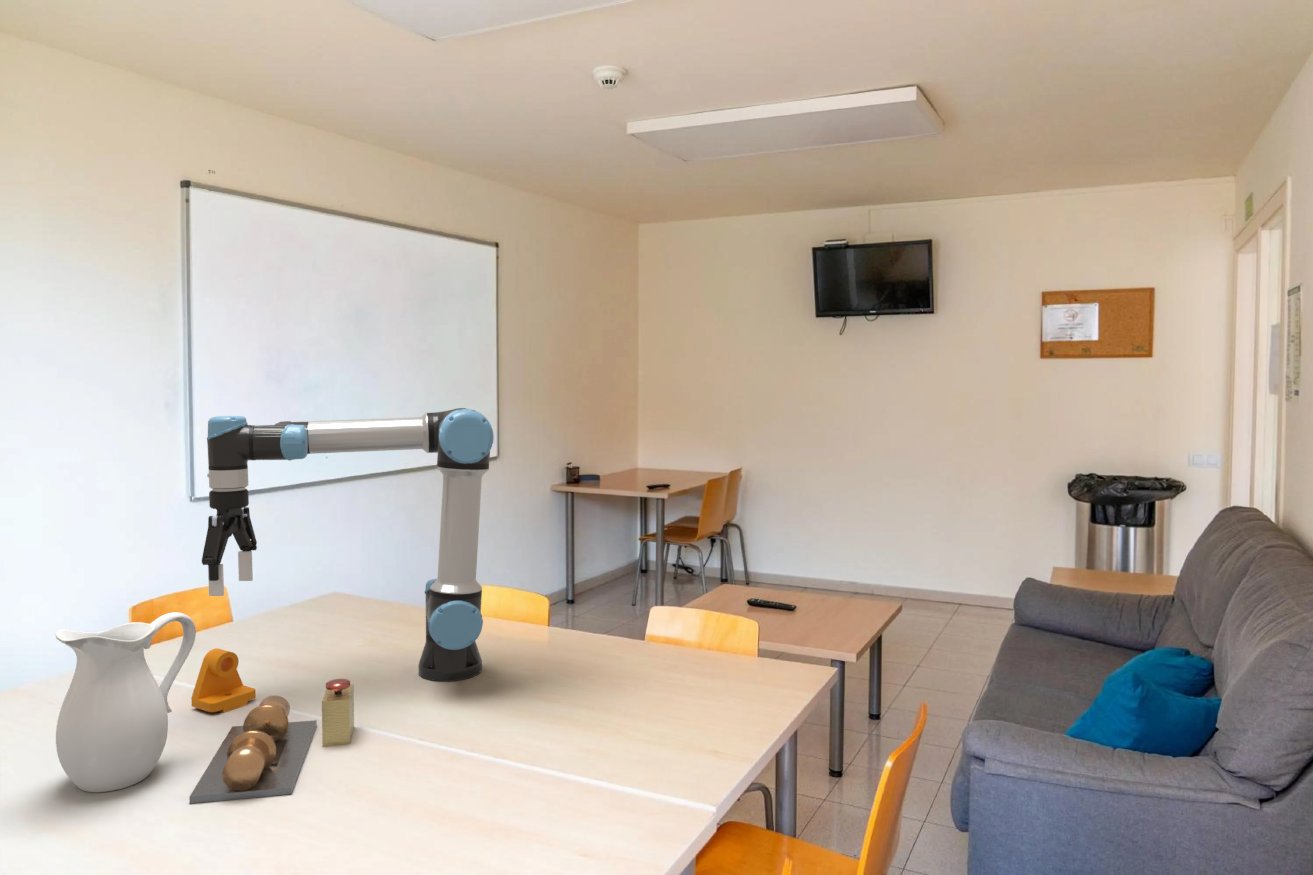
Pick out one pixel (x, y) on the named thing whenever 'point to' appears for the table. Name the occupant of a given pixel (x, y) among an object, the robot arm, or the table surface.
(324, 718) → the valve
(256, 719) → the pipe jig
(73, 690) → the pitcher
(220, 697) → the bracket
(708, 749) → the table surface
